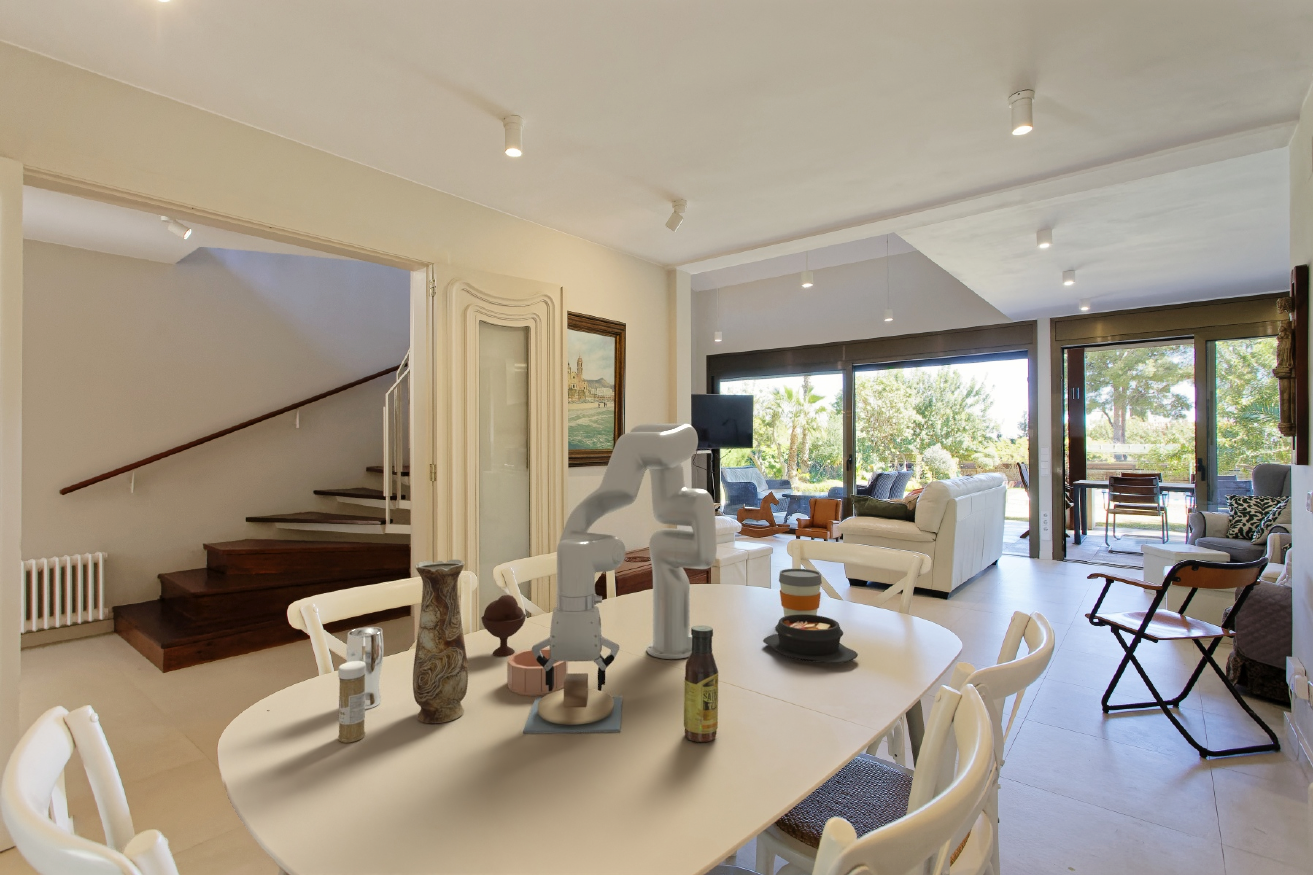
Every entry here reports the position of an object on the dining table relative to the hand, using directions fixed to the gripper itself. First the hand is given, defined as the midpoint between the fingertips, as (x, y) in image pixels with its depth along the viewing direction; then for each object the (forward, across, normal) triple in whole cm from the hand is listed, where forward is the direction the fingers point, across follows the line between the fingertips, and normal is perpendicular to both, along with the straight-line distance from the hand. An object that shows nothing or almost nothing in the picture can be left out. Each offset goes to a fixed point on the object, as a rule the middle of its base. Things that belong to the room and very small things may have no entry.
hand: (575, 688), depth 126 cm
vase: (+6, +27, -2) cm, 28 cm away
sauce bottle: (+6, -24, +10) cm, 26 cm away
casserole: (+6, -56, -34) cm, 66 cm away
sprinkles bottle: (+6, +40, +8) cm, 41 cm away
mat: (+5, 0, 0) cm, 5 cm away
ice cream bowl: (+6, +22, -38) cm, 44 cm away
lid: (+4, 0, 0) cm, 4 cm away
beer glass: (+6, +44, -6) cm, 45 cm away
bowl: (+6, +10, -16) cm, 20 cm away
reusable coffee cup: (+6, -61, -62) cm, 88 cm away
